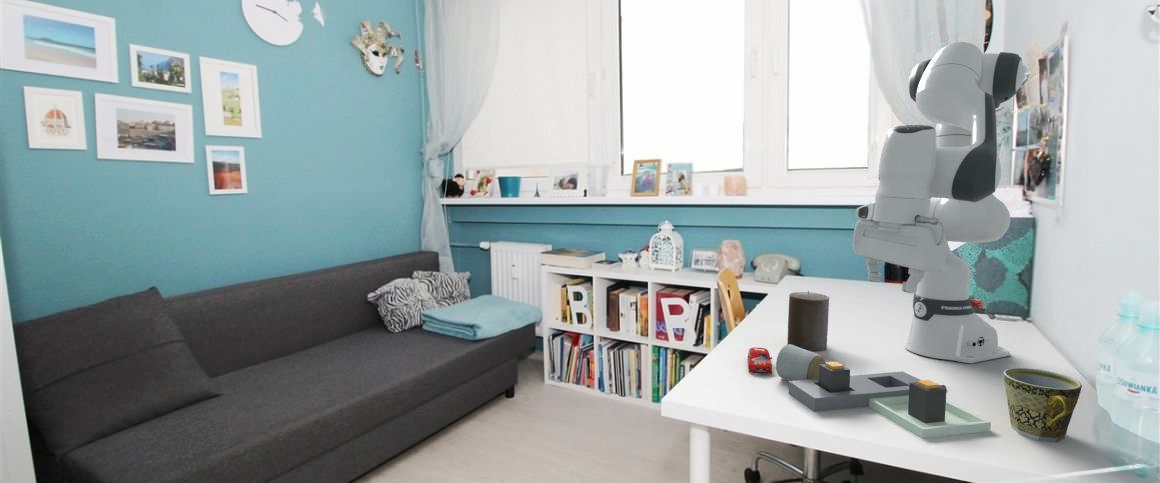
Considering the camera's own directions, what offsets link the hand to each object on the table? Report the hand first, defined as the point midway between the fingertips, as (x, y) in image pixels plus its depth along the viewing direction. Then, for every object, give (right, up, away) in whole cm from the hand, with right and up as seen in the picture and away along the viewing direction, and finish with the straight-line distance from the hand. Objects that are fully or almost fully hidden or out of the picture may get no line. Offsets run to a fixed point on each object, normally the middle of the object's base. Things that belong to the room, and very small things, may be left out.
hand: (890, 286), depth 102 cm
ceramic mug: (-9, -22, +17) cm, 30 cm away
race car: (-16, -22, +27) cm, 38 cm away
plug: (+5, -24, -3) cm, 24 cm away
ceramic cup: (+19, -25, -11) cm, 33 cm away
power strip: (+1, -23, +7) cm, 24 cm away
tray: (+5, -24, -3) cm, 25 cm away
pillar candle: (+1, -19, +40) cm, 45 cm away
